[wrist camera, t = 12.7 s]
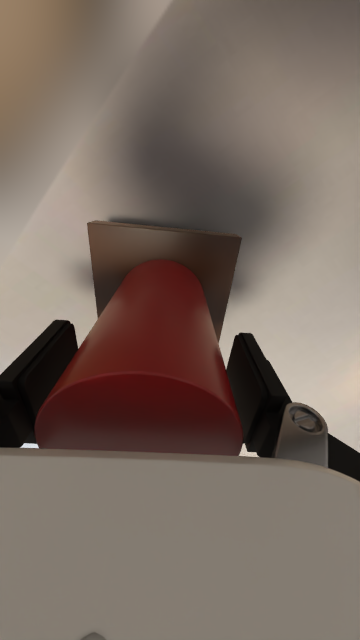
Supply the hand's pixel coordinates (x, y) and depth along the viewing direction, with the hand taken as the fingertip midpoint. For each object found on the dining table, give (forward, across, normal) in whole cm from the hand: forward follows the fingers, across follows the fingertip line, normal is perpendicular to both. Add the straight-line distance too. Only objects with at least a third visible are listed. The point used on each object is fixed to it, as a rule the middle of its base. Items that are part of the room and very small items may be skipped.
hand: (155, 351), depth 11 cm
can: (+6, 0, 0) cm, 6 cm away
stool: (+11, 0, 0) cm, 11 cm away
